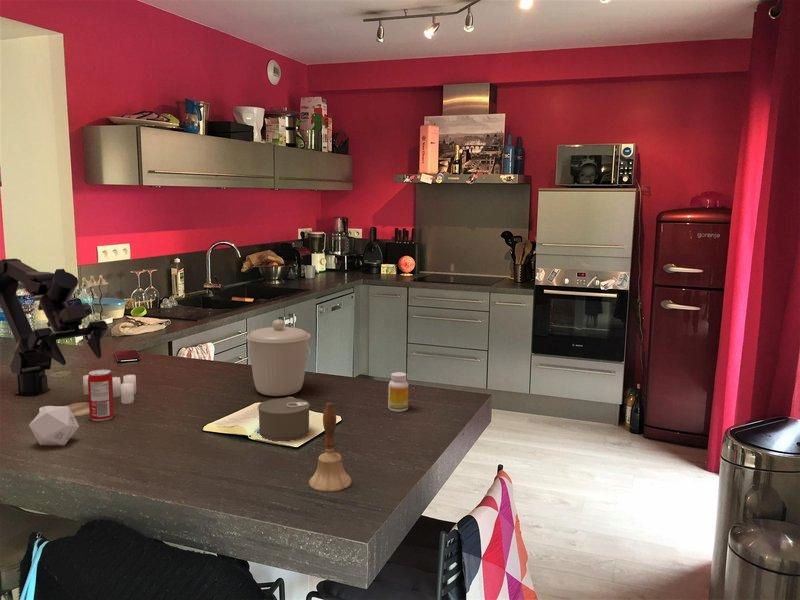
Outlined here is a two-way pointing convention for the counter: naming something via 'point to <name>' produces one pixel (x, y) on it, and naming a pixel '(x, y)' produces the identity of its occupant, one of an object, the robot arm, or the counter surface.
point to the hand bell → (330, 459)
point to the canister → (278, 358)
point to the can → (284, 419)
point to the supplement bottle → (398, 392)
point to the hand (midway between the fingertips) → (82, 360)
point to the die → (54, 425)
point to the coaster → (79, 408)
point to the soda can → (100, 395)
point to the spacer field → (117, 388)
